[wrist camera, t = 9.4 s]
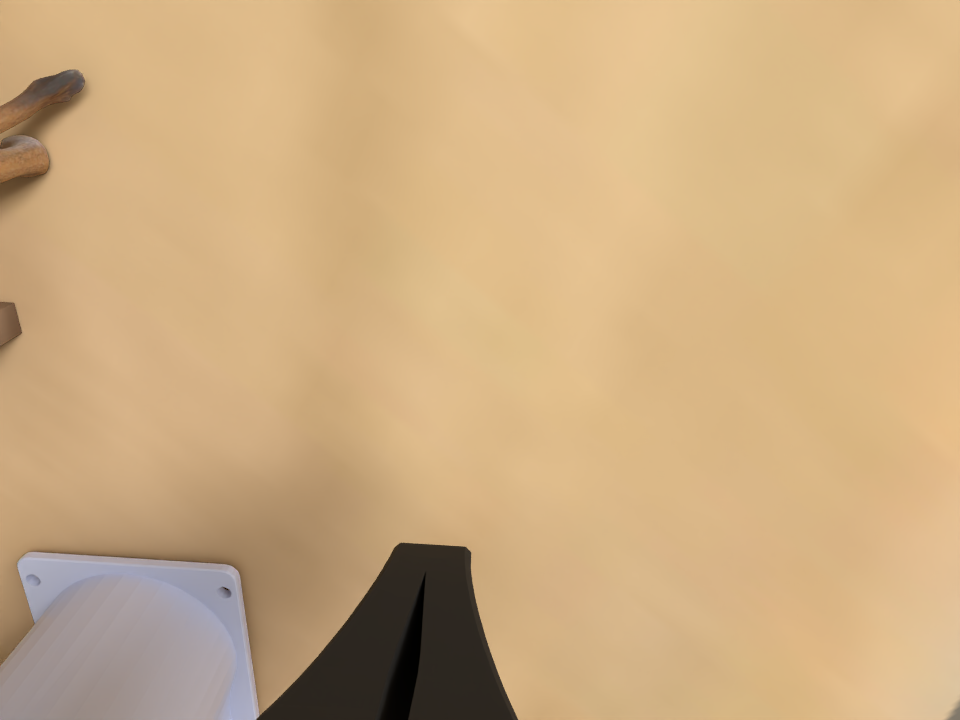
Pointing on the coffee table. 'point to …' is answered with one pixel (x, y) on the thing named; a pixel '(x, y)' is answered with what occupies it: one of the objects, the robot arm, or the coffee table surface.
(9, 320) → the frame
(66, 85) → the lion figurine
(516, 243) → the coffee table surface
